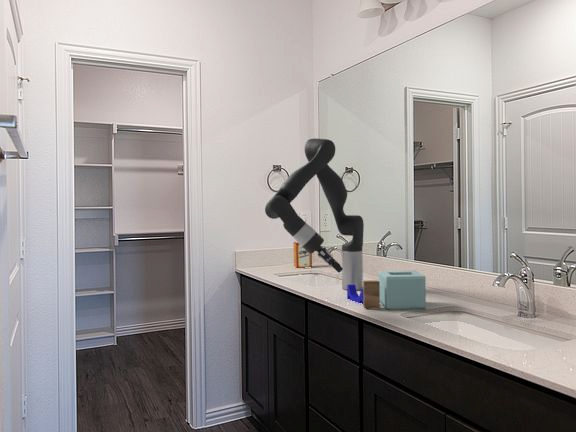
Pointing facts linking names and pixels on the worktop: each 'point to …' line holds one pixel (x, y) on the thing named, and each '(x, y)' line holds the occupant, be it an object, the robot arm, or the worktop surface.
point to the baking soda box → (301, 257)
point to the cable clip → (354, 294)
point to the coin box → (402, 290)
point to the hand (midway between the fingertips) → (339, 269)
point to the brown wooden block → (371, 294)
